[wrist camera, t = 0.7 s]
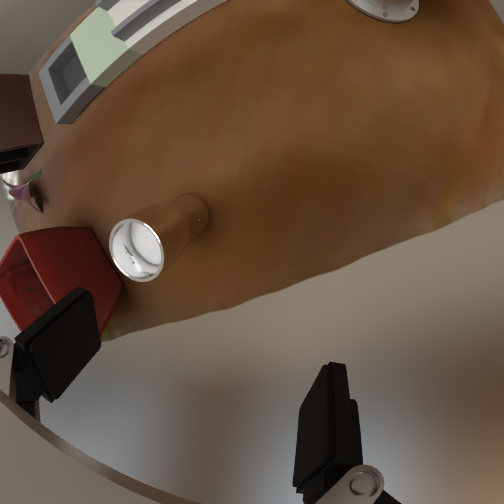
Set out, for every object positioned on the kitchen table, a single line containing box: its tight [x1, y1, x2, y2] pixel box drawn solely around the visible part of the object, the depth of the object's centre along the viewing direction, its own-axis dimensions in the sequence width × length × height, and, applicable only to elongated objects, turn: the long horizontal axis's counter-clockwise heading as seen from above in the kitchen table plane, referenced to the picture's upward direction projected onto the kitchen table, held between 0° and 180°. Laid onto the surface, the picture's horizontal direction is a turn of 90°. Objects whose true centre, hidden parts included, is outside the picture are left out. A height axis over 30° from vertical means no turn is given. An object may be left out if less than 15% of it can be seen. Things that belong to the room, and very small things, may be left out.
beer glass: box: [109, 194, 209, 282], centre depth 32 cm, size 7×7×15 cm
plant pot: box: [0, 227, 123, 337], centre depth 38 cm, size 19×19×17 cm
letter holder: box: [0, 74, 44, 174], centre depth 30 cm, size 10×20×14 cm, turn 25°
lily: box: [1, 170, 42, 213], centre depth 38 cm, size 12×12×10 cm
